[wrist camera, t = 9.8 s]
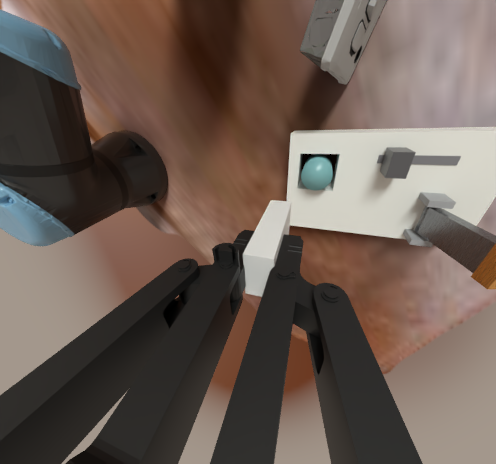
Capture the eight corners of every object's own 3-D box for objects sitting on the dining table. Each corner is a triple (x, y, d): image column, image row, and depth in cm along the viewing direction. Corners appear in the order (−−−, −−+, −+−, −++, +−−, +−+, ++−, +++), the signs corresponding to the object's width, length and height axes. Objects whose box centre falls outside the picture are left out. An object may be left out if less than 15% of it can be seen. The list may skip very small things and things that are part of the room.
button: (303, 179, 32) (299, 189, 28) (305, 152, 30) (302, 160, 26) (329, 180, 31) (329, 191, 27) (334, 153, 29) (335, 160, 25)
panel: (288, 214, 37) (282, 233, 31) (294, 130, 30) (287, 136, 24) (448, 231, 30) (475, 259, 24) (508, 126, 22) (566, 133, 17)
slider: (379, 171, 25) (385, 177, 23) (386, 147, 24) (393, 152, 21) (397, 171, 24) (405, 178, 22) (406, 147, 23) (415, 152, 21)
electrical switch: (346, 86, 25) (345, 75, 18) (308, 74, 26) (293, 59, 19) (399, -26, 20) (428, -109, 12) (348, -36, 21) (348, -119, 13)
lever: (408, 230, 27) (487, 289, 18) (420, 202, 25) (516, 254, 16) (423, 229, 27) (510, 288, 18) (436, 202, 25) (542, 253, 16)
